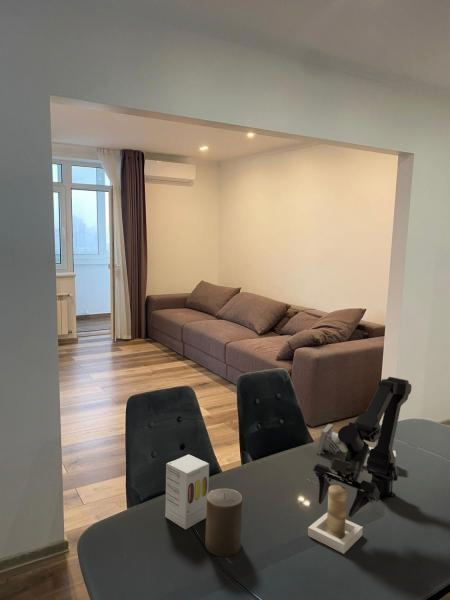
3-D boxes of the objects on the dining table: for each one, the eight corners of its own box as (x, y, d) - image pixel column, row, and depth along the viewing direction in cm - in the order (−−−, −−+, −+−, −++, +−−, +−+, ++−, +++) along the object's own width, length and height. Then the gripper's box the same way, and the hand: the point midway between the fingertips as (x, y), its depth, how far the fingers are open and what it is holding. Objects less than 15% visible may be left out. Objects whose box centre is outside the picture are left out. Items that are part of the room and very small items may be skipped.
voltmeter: (310, 445, 187) (311, 422, 186) (336, 445, 188) (337, 422, 187) (332, 477, 160) (333, 450, 159) (362, 476, 162) (364, 449, 161)
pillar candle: (229, 562, 115) (231, 506, 113) (197, 548, 120) (199, 494, 118) (247, 542, 123) (249, 490, 121) (217, 530, 128) (219, 479, 127)
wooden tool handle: (341, 528, 129) (343, 485, 128) (347, 539, 124) (349, 494, 123) (324, 528, 129) (326, 485, 127) (329, 539, 124) (331, 494, 123)
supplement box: (185, 530, 127) (186, 473, 126) (164, 517, 133) (164, 463, 132) (208, 516, 134) (210, 462, 133) (187, 504, 140) (188, 453, 139)
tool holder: (327, 519, 134) (327, 511, 134) (362, 535, 127) (362, 527, 127) (307, 535, 126) (308, 527, 126) (343, 553, 119) (344, 544, 118)
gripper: (317, 437, 133) (295, 486, 126) (378, 457, 121) (357, 512, 114) (329, 454, 140) (309, 501, 133) (388, 474, 127) (369, 528, 120)
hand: (334, 510), depth 125 cm, fingers open, 9 cm apart
